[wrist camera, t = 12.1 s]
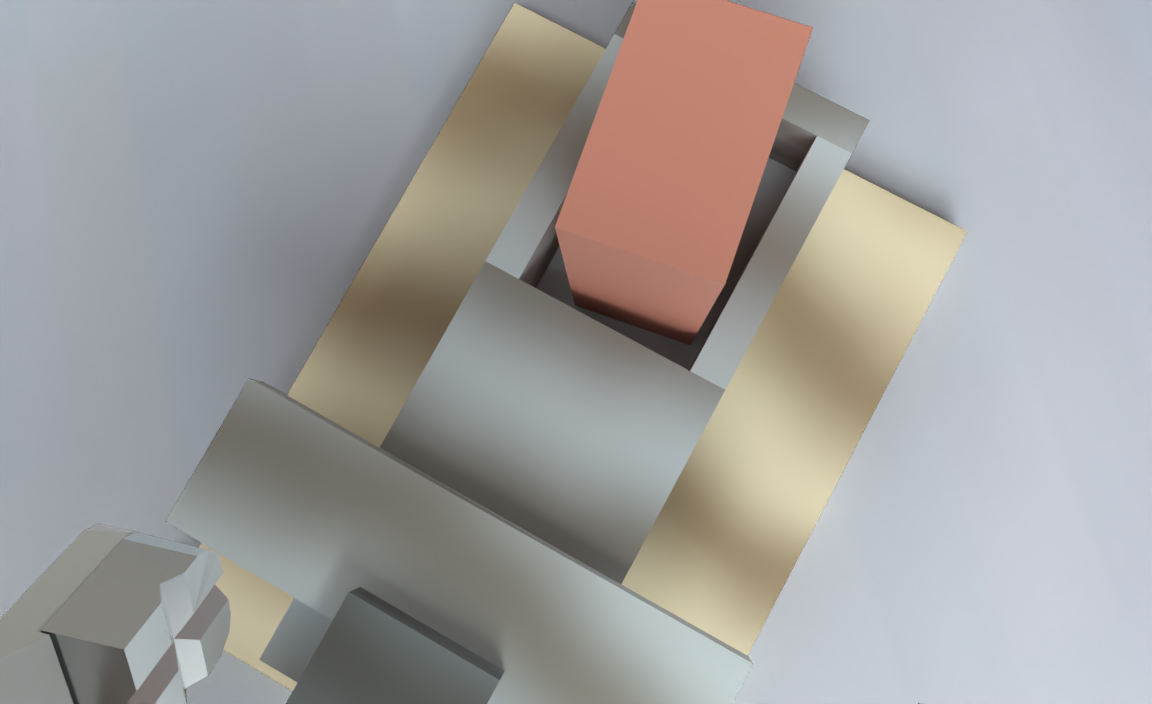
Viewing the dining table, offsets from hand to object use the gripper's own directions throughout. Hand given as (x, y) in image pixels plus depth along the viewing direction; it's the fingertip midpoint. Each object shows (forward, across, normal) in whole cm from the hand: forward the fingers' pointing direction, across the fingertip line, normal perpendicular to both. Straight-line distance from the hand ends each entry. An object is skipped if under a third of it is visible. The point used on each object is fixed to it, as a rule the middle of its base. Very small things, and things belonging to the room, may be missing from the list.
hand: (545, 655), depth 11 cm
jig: (+17, -3, -10) cm, 20 cm away
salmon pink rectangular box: (+18, -1, -3) cm, 18 cm away
